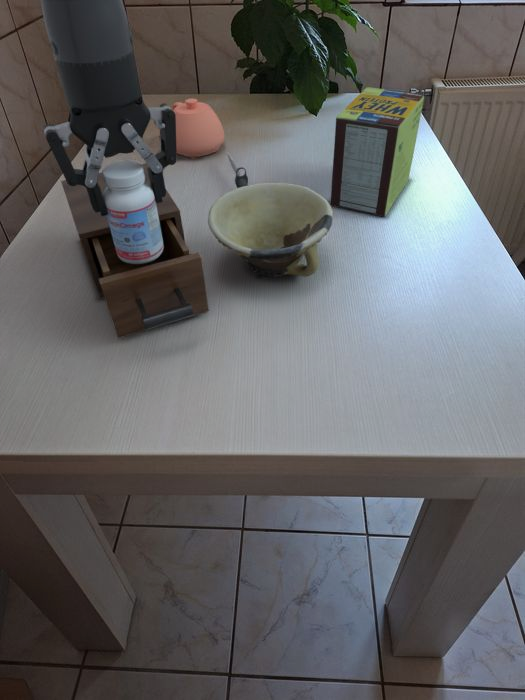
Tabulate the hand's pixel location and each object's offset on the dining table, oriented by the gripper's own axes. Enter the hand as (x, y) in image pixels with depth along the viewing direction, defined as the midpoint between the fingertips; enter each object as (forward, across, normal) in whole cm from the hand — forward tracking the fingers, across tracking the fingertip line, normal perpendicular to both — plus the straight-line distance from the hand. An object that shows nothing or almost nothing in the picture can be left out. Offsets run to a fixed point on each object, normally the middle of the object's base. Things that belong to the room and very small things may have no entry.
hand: (130, 205), depth 60 cm
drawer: (+15, 0, 0) cm, 15 cm away
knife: (+16, -24, -28) cm, 40 cm away
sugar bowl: (+16, -22, -48) cm, 56 cm away
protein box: (+16, -45, -14) cm, 50 cm away
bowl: (+16, -19, -2) cm, 25 cm away
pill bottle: (+7, 0, 0) cm, 7 cm away
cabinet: (+16, 0, -14) cm, 21 cm away
